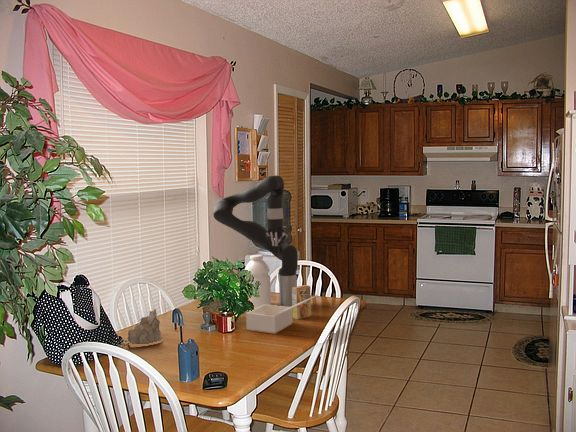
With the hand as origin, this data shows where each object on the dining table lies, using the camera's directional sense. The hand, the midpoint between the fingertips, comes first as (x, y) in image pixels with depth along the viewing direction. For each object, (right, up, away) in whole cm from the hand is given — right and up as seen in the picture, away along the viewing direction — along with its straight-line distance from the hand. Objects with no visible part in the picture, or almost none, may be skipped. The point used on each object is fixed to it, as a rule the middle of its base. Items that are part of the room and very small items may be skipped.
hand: (276, 253), depth 278 cm
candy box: (+12, -32, +9) cm, 36 cm away
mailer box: (-3, -34, -6) cm, 35 cm away
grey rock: (-57, -38, -22) cm, 72 cm away
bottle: (-10, -31, +29) cm, 44 cm away
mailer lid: (+4, -26, -11) cm, 28 cm away
